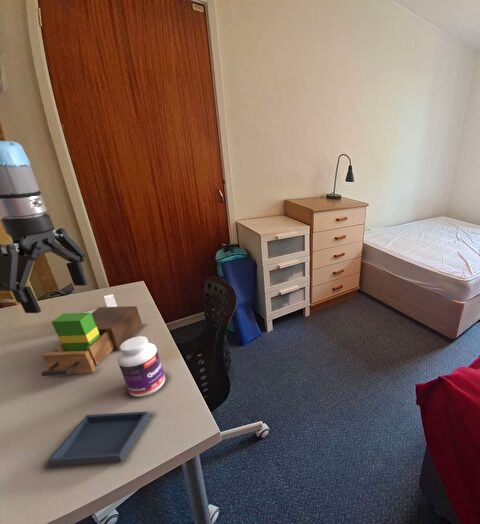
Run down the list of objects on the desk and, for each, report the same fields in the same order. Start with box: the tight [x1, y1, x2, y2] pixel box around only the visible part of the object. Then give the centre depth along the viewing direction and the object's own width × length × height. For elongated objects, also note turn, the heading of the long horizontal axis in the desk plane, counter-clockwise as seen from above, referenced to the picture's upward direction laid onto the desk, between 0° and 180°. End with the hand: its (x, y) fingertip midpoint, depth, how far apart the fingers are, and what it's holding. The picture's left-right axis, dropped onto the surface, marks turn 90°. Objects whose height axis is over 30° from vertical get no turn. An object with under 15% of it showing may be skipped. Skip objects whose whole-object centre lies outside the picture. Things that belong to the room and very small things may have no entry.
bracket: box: [83, 293, 118, 313], centre depth 100 cm, size 13×7×8 cm, turn 134°
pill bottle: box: [117, 335, 166, 398], centre depth 72 cm, size 8×8×14 cm
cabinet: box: [91, 305, 143, 352], centre depth 90 cm, size 13×12×9 cm
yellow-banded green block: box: [51, 312, 100, 352], centre depth 79 cm, size 7×4×14 cm, turn 96°
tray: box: [47, 411, 150, 468], centre depth 61 cm, size 13×10×2 cm
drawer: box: [41, 331, 115, 377], centre depth 79 cm, size 16×10×7 cm, turn 6°
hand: (59, 297), depth 71 cm, fingers open, 13 cm apart
